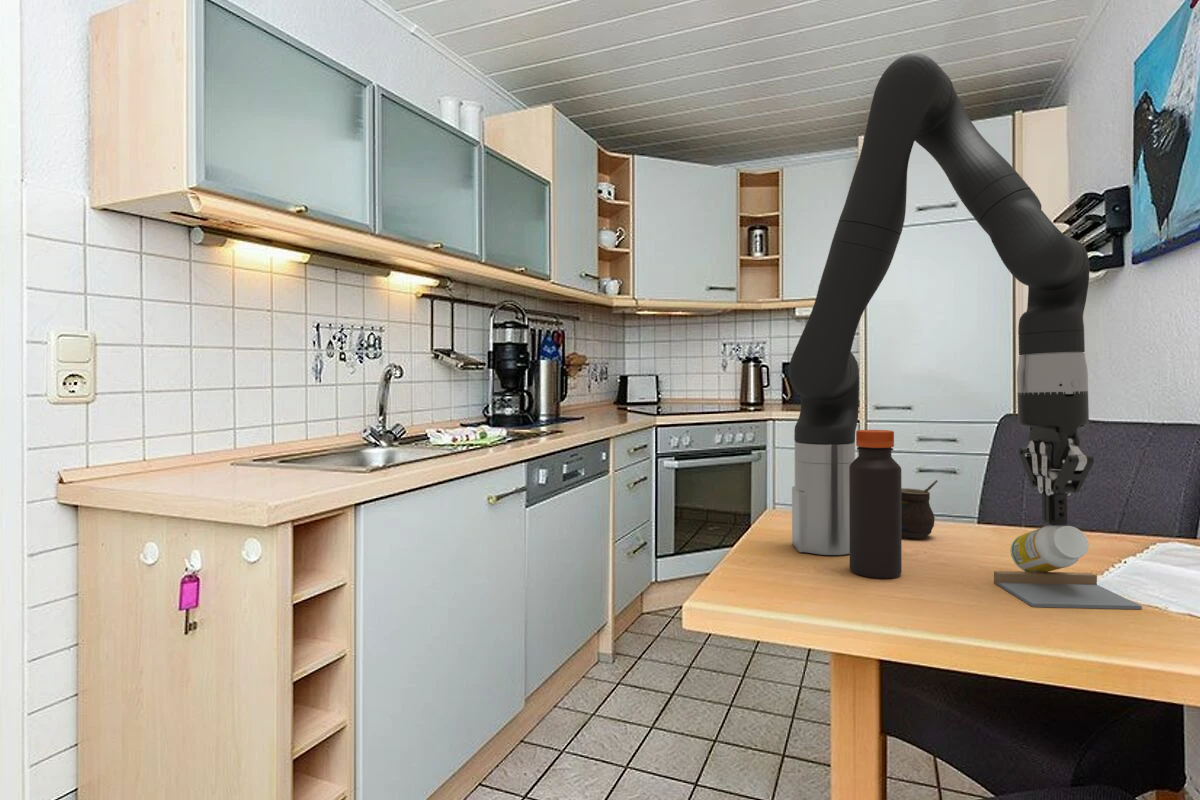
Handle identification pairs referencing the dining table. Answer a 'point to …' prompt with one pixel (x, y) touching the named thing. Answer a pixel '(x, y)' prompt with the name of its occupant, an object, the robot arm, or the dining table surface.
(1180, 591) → the dining table surface
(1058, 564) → the supplement bottle
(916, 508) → the mate gourd
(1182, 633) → the dining table surface
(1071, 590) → the plate
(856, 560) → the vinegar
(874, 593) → the dining table surface
